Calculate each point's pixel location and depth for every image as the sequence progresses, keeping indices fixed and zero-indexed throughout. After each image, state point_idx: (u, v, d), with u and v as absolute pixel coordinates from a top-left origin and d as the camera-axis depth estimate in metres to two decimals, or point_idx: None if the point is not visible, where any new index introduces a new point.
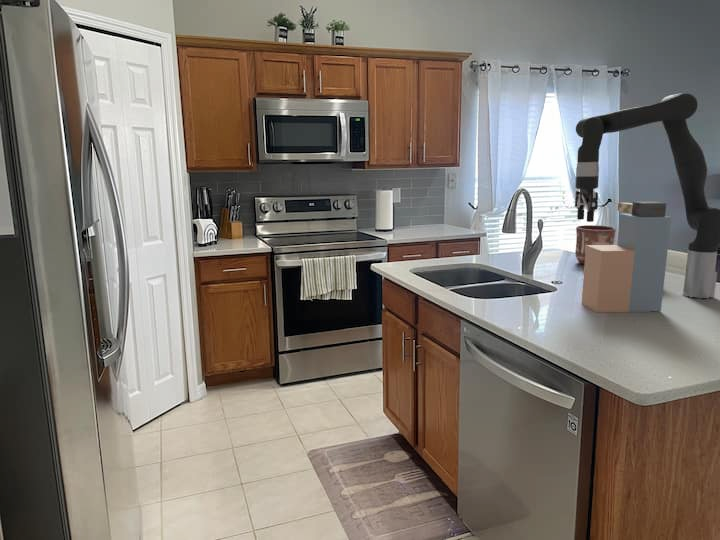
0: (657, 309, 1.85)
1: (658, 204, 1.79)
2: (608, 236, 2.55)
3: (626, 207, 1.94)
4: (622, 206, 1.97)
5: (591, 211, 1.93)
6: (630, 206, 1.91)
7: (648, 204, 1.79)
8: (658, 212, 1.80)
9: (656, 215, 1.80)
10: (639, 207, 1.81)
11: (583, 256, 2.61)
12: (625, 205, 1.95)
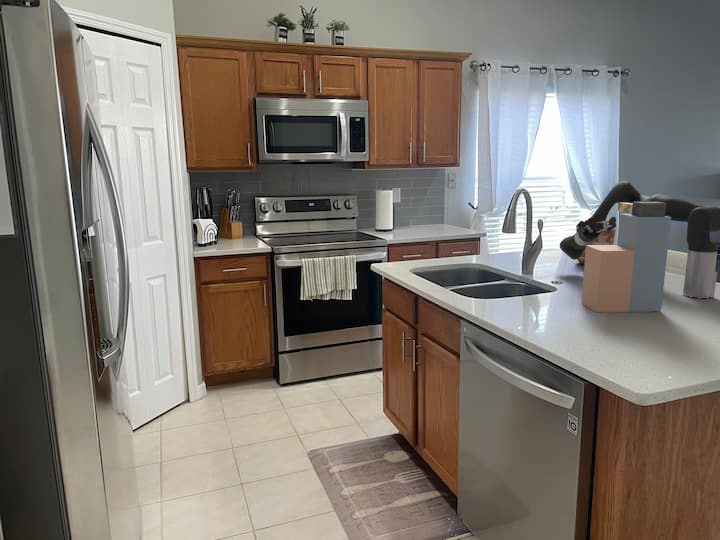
0: (657, 309, 1.85)
1: (658, 204, 1.79)
2: (608, 236, 2.55)
3: (626, 207, 1.94)
4: (622, 206, 1.97)
5: (586, 223, 2.18)
6: (630, 206, 1.91)
7: (648, 204, 1.79)
8: (658, 212, 1.80)
9: (656, 215, 1.80)
10: (639, 207, 1.81)
11: (583, 256, 2.61)
12: (625, 205, 1.95)
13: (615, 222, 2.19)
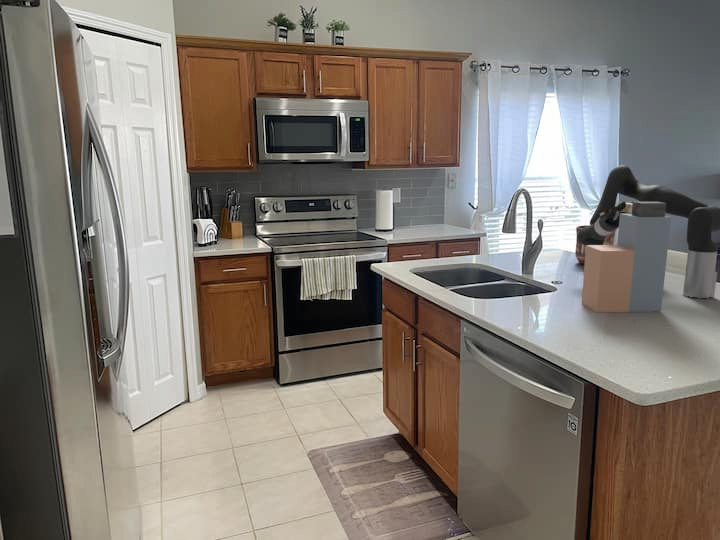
0: (657, 309, 1.85)
1: (658, 204, 1.79)
2: (608, 236, 2.55)
3: (626, 207, 1.94)
4: None
5: (616, 208, 1.98)
6: (630, 206, 1.91)
7: (648, 204, 1.79)
8: (658, 212, 1.80)
9: (656, 215, 1.80)
10: (639, 207, 1.81)
11: (583, 256, 2.61)
12: None
13: None
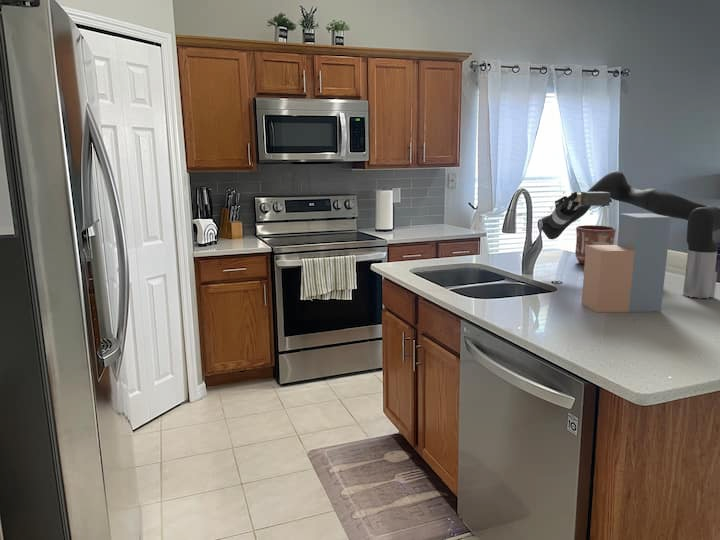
0: (657, 309, 1.85)
1: (603, 194, 1.94)
2: (608, 236, 2.55)
3: (577, 197, 2.09)
4: None
5: (569, 198, 2.13)
6: (580, 196, 2.06)
7: (594, 194, 1.94)
8: (603, 201, 1.95)
9: (601, 204, 1.95)
10: (586, 196, 1.96)
11: (583, 256, 2.61)
12: None
13: None
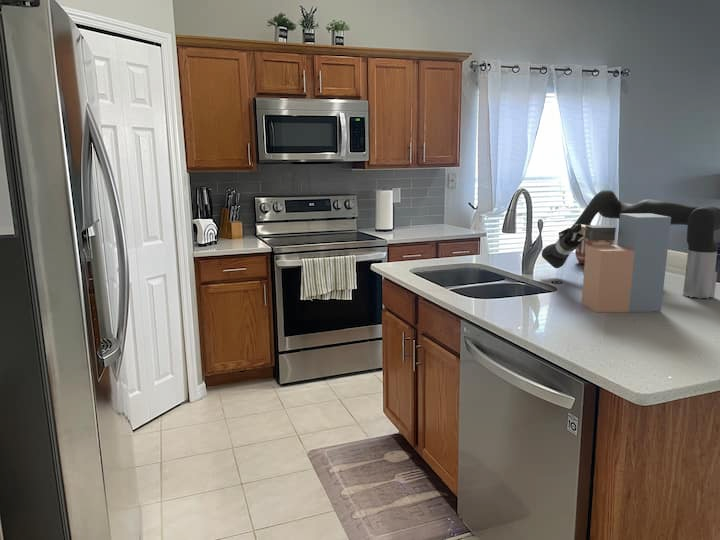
0: (657, 309, 1.85)
1: (608, 228, 1.91)
2: None
3: (581, 229, 2.05)
4: None
5: (573, 230, 2.09)
6: (584, 229, 2.03)
7: (598, 228, 1.91)
8: (608, 236, 1.91)
9: (606, 239, 1.91)
10: (590, 231, 1.92)
11: (583, 256, 2.61)
12: None
13: None
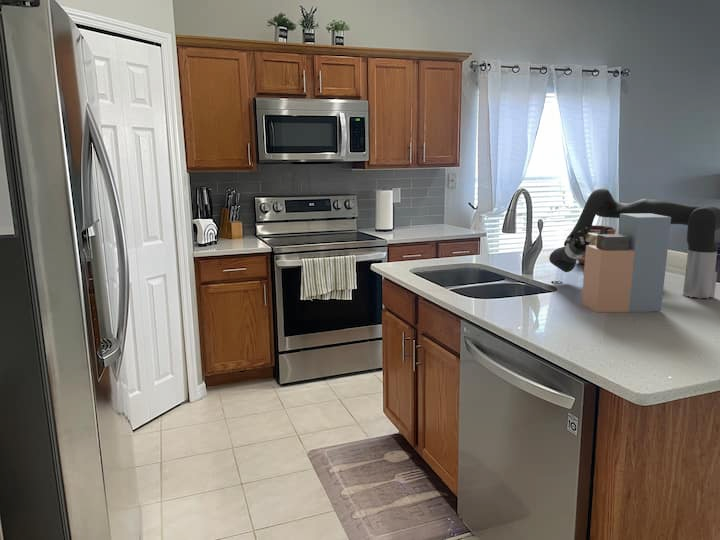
0: (657, 309, 1.85)
1: (621, 238, 1.81)
2: None
3: (592, 238, 1.96)
4: (589, 237, 1.99)
5: (579, 234, 2.00)
6: (596, 238, 1.93)
7: (611, 238, 1.81)
8: (621, 246, 1.82)
9: (619, 248, 1.82)
10: (603, 240, 1.83)
11: (583, 256, 2.61)
12: (592, 236, 1.97)
13: None
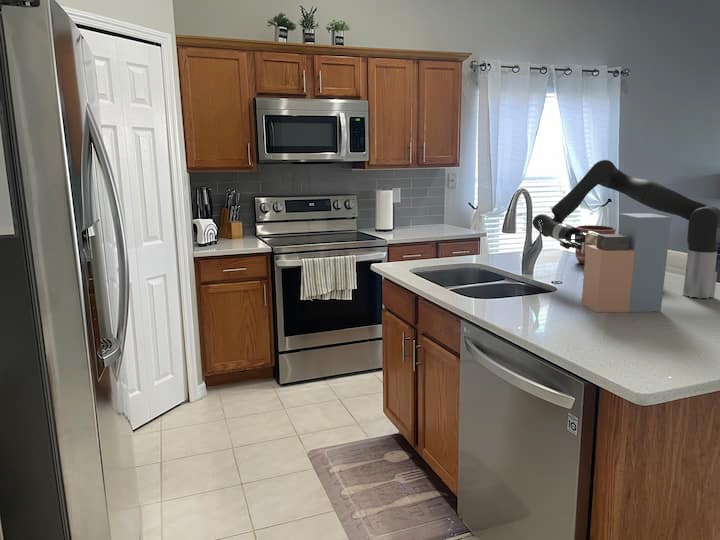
0: (657, 309, 1.85)
1: (621, 238, 1.81)
2: None
3: (592, 238, 1.96)
4: (589, 237, 1.99)
5: (572, 245, 2.09)
6: (596, 238, 1.93)
7: (611, 238, 1.81)
8: (621, 246, 1.82)
9: (619, 248, 1.82)
10: (603, 240, 1.83)
11: (583, 256, 2.61)
12: (592, 236, 1.97)
13: None
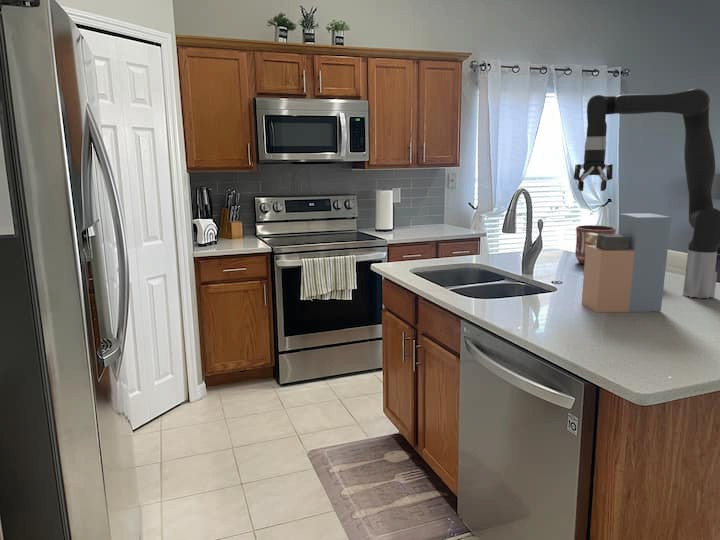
0: (657, 309, 1.85)
1: (621, 238, 1.81)
2: None
3: (592, 238, 1.96)
4: (589, 237, 1.99)
5: (578, 181, 2.16)
6: (596, 238, 1.93)
7: (611, 238, 1.81)
8: (621, 246, 1.82)
9: (619, 248, 1.82)
10: (603, 240, 1.83)
11: (583, 256, 2.61)
12: (592, 236, 1.97)
13: None
